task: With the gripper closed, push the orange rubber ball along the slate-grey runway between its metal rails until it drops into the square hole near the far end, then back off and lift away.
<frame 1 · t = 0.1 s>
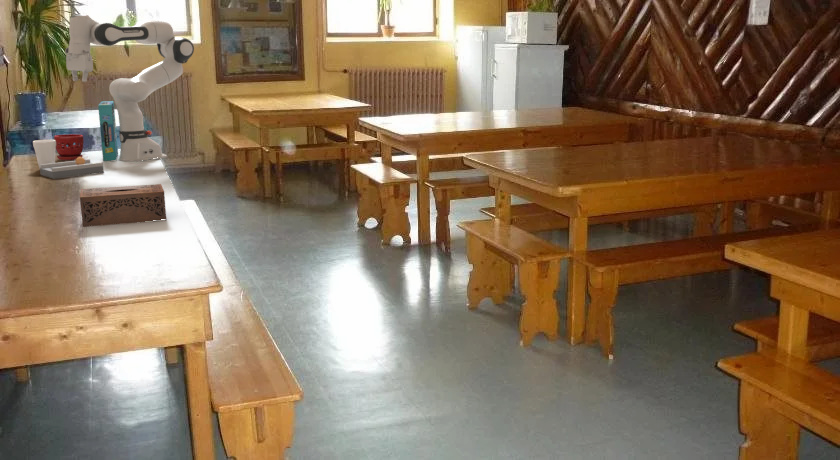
hand: (79, 81, 372), 39 cm above the table, tool pointing down, fingers open, 8 cm apart
game box: (110, 158, 402), on the table
foam cup: (47, 169, 369), on the table
ball: (80, 161, 359), point 5 cm above the table, touching runway
runway: (72, 173, 357), on the table
tissue box cover: (124, 220, 271), on the table
plant pot: (71, 159, 397), on the table
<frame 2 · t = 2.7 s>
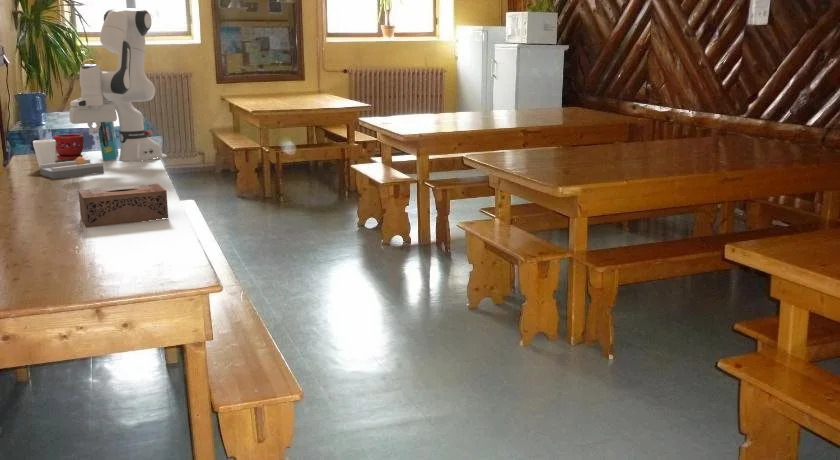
hand: (94, 132, 361), 17 cm above the table, tool pointing down, fingers closed
game box: (111, 157, 402), on the table, touching arm
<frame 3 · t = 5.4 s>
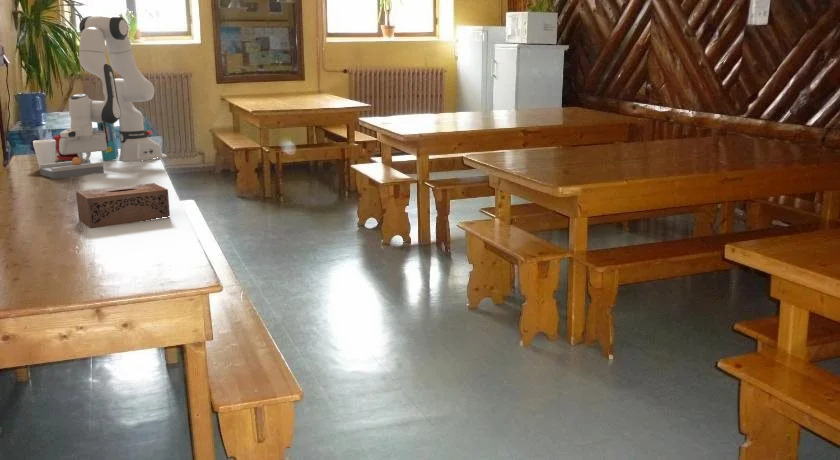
hand: (85, 162, 360), 4 cm above the table, tool pointing down, fingers closed
game box: (111, 157, 402), on the table
ball: (76, 161, 357), point 5 cm above the table, tilted 44°, touching runway
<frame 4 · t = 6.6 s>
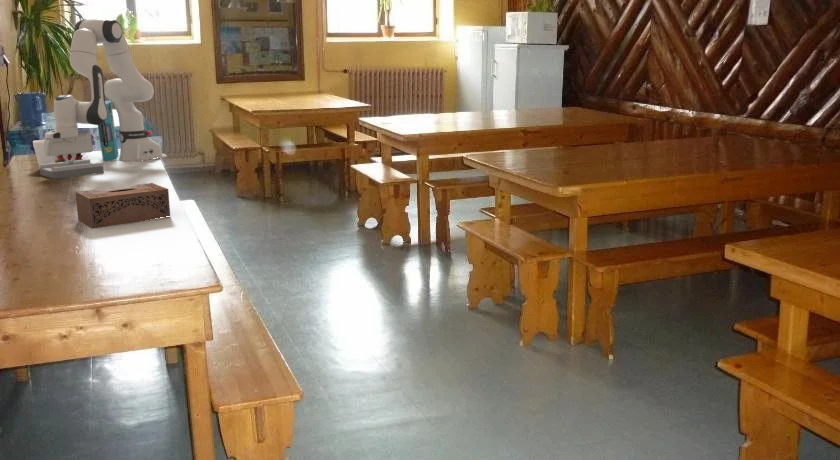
hand: (70, 164, 355), 4 cm above the table, tool pointing down, fingers closed
game box: (111, 157, 402), on the table, touching arm
ball: (56, 171, 352), point 2 cm above the table, tilted 18°
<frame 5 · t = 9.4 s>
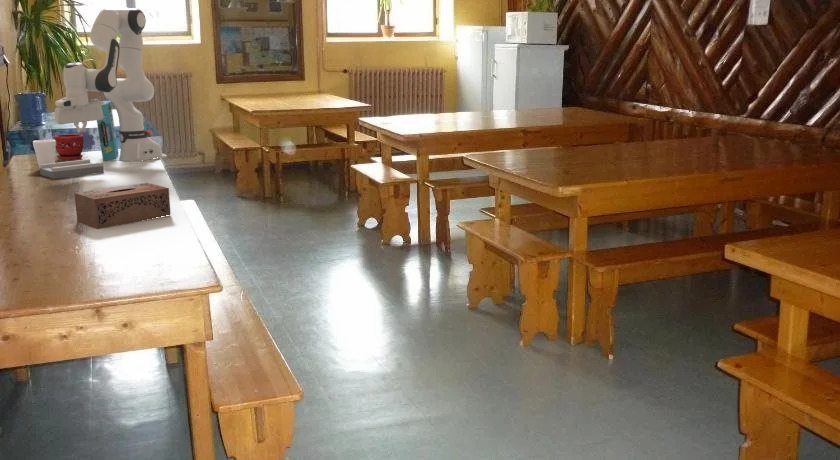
hand: (81, 132, 357), 18 cm above the table, tool pointing down, fingers closed
ball: (57, 171, 352), point 2 cm above the table, tilted 24°
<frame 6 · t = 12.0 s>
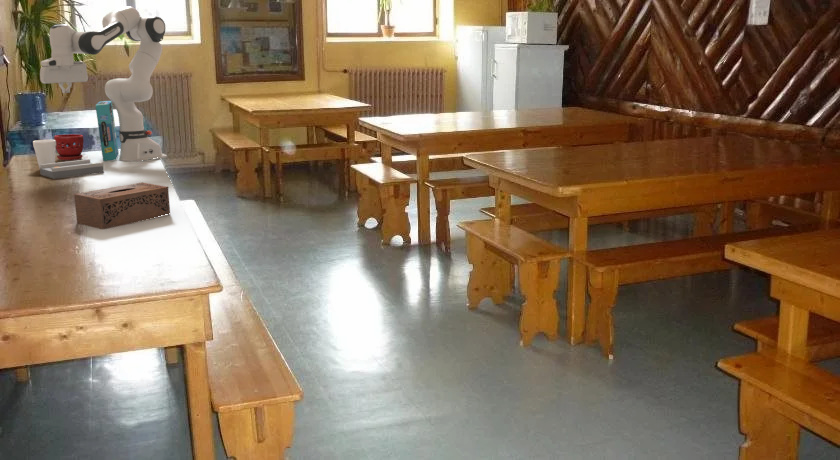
hand: (66, 93, 364), 34 cm above the table, tool pointing down, fingers closed
ball: (57, 171, 352), point 2 cm above the table, tilted 30°
at the end: ball 0.3 cm from the target spot on the runway, point 2.0 cm above the runway's base; ball moved 10.8 cm from its start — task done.
